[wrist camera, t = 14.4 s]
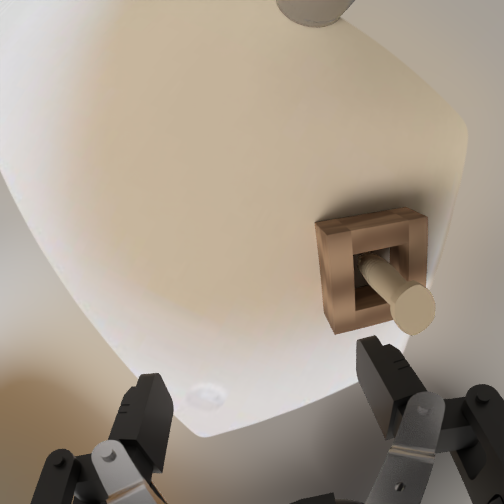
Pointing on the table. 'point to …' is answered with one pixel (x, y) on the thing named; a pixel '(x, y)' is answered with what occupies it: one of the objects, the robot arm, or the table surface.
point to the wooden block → (363, 240)
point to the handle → (399, 294)
